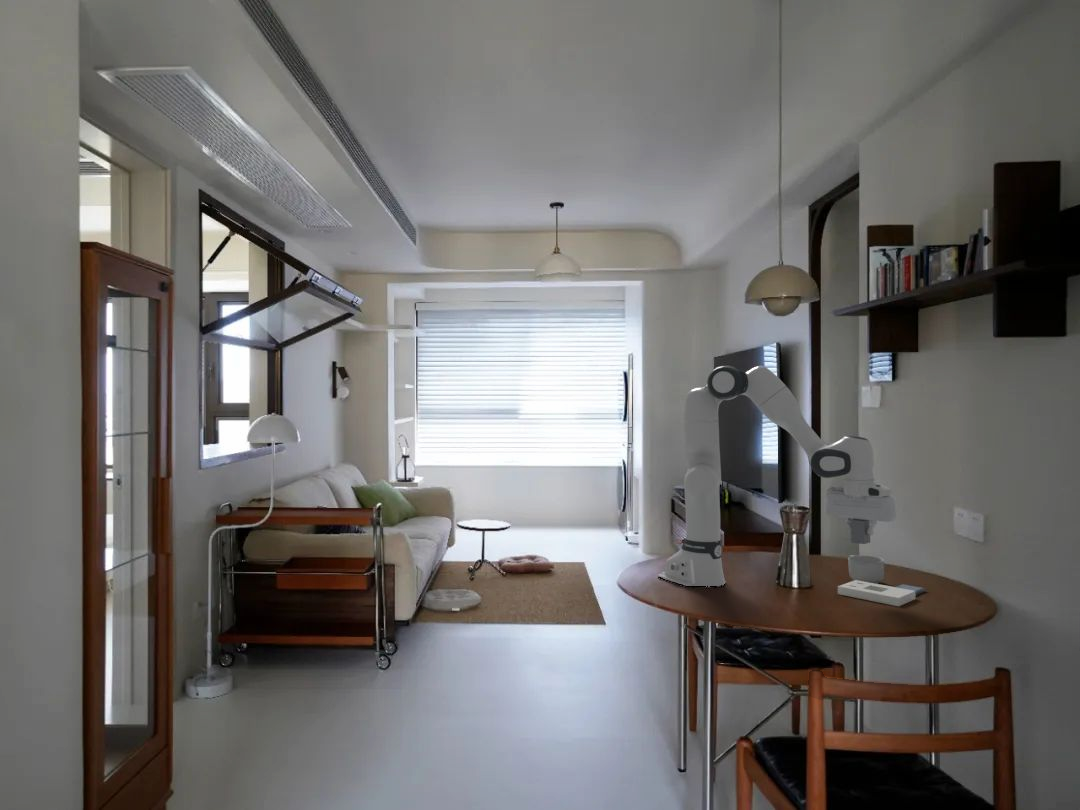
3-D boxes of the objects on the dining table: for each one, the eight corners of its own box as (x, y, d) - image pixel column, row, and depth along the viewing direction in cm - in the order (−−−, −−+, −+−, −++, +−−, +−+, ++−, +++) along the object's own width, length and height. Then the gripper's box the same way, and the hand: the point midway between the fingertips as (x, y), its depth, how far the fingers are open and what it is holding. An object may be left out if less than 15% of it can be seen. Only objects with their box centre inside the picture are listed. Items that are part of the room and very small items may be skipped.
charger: (851, 542, 216) (850, 519, 216) (857, 540, 219) (856, 517, 219) (864, 544, 213) (863, 520, 213) (870, 542, 216) (869, 519, 216)
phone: (887, 593, 218) (887, 589, 218) (901, 587, 225) (901, 583, 225) (910, 597, 213) (910, 594, 213) (925, 591, 220) (925, 587, 220)
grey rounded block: (890, 586, 226) (890, 561, 226) (856, 586, 226) (856, 561, 226) (870, 576, 240) (869, 552, 240) (838, 576, 240) (838, 552, 240)
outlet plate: (837, 594, 217) (837, 585, 217) (855, 587, 225) (855, 579, 225) (898, 606, 204) (898, 597, 204) (915, 599, 211) (915, 590, 211)
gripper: (821, 487, 222) (823, 531, 222) (888, 491, 207) (890, 538, 206) (830, 485, 226) (832, 529, 226) (897, 489, 211) (899, 535, 211)
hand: (860, 533), depth 216 cm, fingers closed on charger, 4 cm apart
